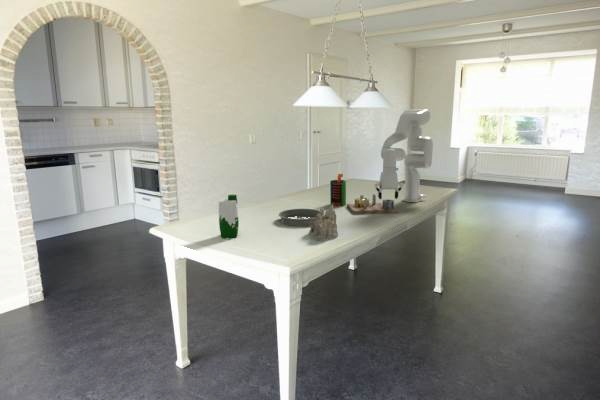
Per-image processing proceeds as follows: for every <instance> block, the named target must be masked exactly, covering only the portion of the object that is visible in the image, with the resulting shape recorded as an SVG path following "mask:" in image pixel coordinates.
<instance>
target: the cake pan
mask: <svg viewBox="0 0 600 400" xmlns="http://www.w3.org/2000/svg"><path fill="white" fill-rule="evenodd" d="M319 213H320V210H317V209H311V208H291V209H286V210H285V209H284V210H282V211H280V212H279V213H278V217H280V219H281V222H283V223H282V224H284V223H285V224H284V225H288V226H296V227H303V226H304V227H306V226H311V224H310V222H311V221H312V220H313V219H314V218H315V216H316V215H317V214H319ZM295 216H297V219H291V218H288V217H295ZM302 217H306V218H308V217H310V218H308V219H304V218H302ZM299 218H300V219H299Z"/></svg>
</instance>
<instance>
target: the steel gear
mask: <svg viewBox="0 0 600 400" xmlns="http://www.w3.org/2000/svg"><path fill="white" fill-rule="evenodd" d="M382 203H383V206H382V208H384V209H394V208H395V200H394V199H383V200H382Z"/></svg>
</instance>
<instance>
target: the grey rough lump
mask: <svg viewBox="0 0 600 400" xmlns="http://www.w3.org/2000/svg"><path fill="white" fill-rule="evenodd" d="M319 211H320V213H319V214H317V215H316V216H315V218H314V219H313V220H312V221H311V222H310V224H311V225H309V227H310V229H309V232H308V235H309V237H310V238H311V239H312V240H313V241H319V242H327V241H330V240H334V239H337V238H338V237H339V231H338V223H337V214H336V211H335V210H334V206H333V205H332V204H330V206H329V208H328V209H326V210H325V209H324V207H320V210H319Z"/></svg>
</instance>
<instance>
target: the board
mask: <svg viewBox="0 0 600 400" xmlns="http://www.w3.org/2000/svg"><path fill="white" fill-rule="evenodd" d="M359 198H360V199H361V200H363V199H364V207H357V206H355V203H346V208H347V209H348V210H349V211H350V212H351V213H352V214H353V215H371V214H372V215H374V214H398V208H396V207H394V209H384V208H382V206H383V202H377V194H372V199H371V200H372V202H371V203H370V202H369V206H367V199H368V197H365V196H364V194H360V197H359Z"/></svg>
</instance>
